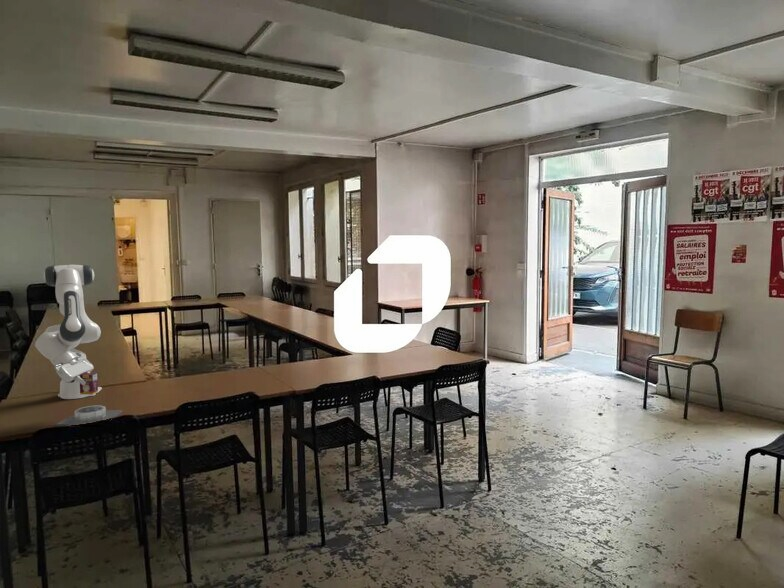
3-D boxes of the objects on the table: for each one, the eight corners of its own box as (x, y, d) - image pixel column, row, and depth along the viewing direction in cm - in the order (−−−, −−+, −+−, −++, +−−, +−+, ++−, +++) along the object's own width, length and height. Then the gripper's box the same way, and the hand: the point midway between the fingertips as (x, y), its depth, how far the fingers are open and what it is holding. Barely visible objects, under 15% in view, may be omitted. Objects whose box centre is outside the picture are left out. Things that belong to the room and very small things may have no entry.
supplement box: (79, 395, 243) (78, 375, 242) (85, 392, 248) (84, 372, 247) (93, 394, 243) (92, 374, 242) (98, 392, 248) (97, 372, 247)
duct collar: (80, 412, 256) (79, 403, 256) (122, 412, 257) (122, 402, 256) (55, 426, 236) (55, 416, 236) (101, 425, 237) (101, 415, 236)
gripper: (57, 361, 233) (81, 383, 234) (82, 352, 254) (104, 372, 255) (47, 371, 233) (71, 393, 235) (73, 361, 254) (95, 381, 255)
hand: (89, 382), depth 245 cm, fingers closed on supplement box, 5 cm apart
